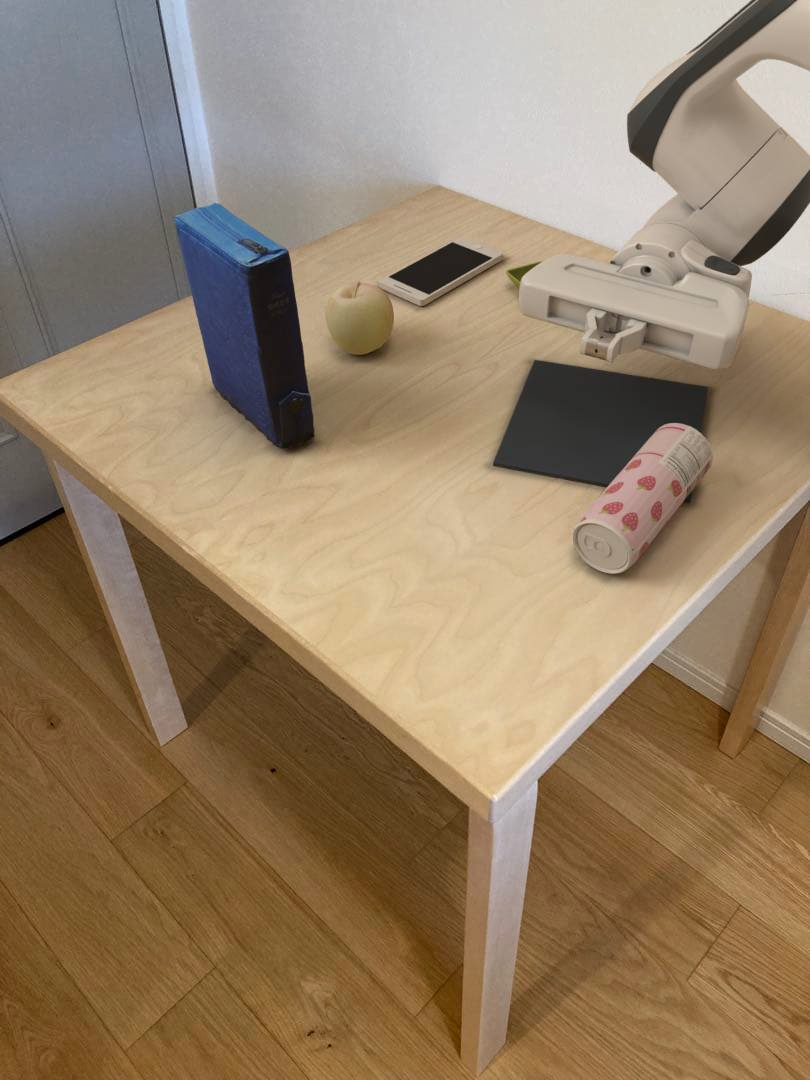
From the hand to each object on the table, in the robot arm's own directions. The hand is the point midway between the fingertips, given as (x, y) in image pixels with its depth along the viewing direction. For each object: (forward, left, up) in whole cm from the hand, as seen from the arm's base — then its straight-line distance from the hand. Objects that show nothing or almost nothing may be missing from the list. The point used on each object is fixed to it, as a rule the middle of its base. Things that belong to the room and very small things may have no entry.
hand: (596, 351), depth 76 cm
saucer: (+9, -29, -12) cm, 33 cm away
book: (+32, +3, -12) cm, 34 cm away
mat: (-1, -5, -12) cm, 13 cm away
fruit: (+27, -12, -12) cm, 32 cm away
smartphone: (+23, -30, -12) cm, 40 cm away
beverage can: (-9, 0, -8) cm, 12 cm away
